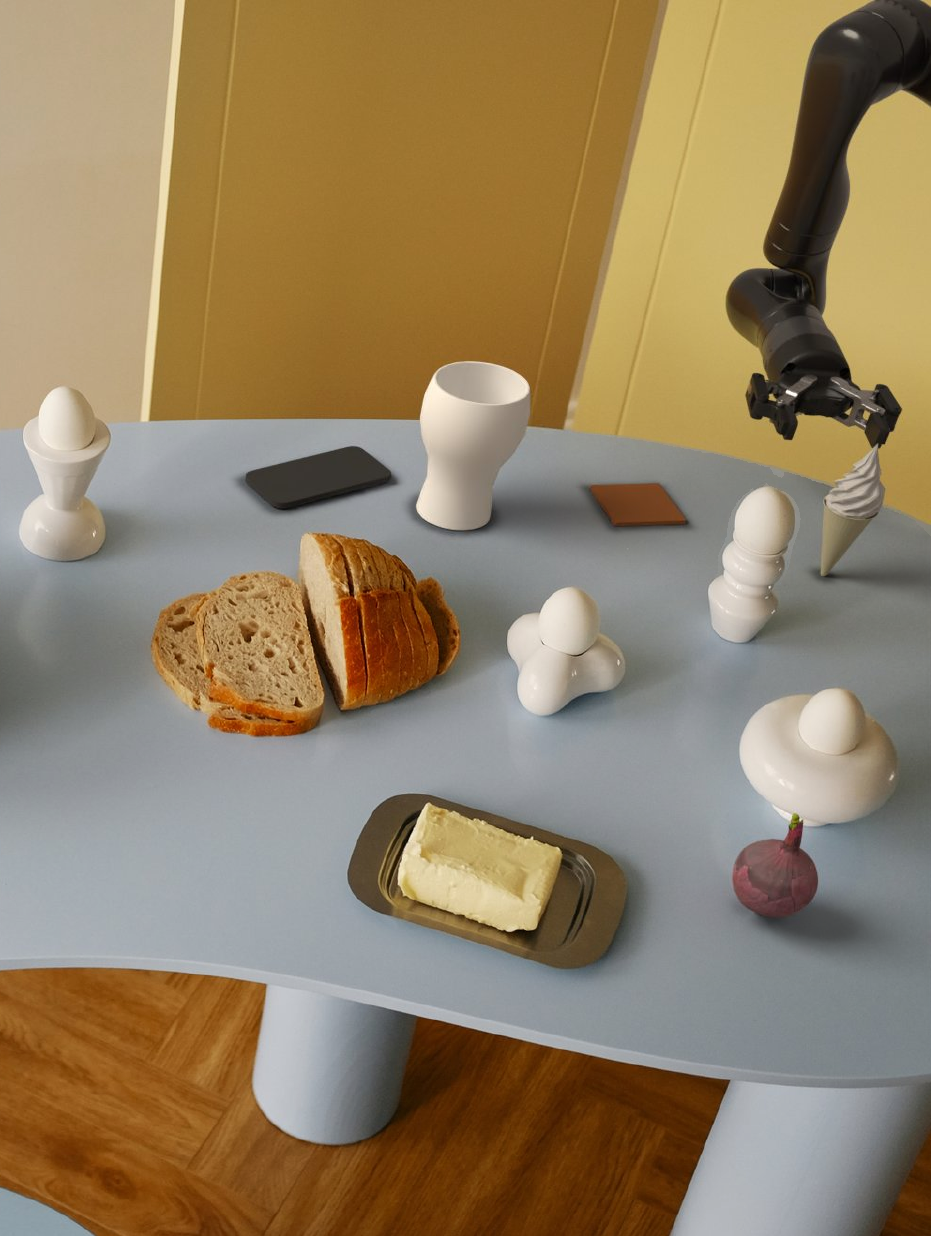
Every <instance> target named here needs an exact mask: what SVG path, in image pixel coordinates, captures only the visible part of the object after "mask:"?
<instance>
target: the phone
mask: <svg viewBox="0 0 931 1236" xmlns="http://www.w3.org/2000/svg"><path fill="white" fill-rule="evenodd" d="M391 476H392V471H391V470H390V469H389V468H388V467H386V465H384V464H383V463H382V462H380V460H378V459H377V458H375V457H374V456H373V455H371V454H370V453H369V452H367V451H366V450H365V449H364V448H363V447H360V446H356V445H349V446H344V447H340V448H337V449H333V450H329V451H325V452H321V453H317V454H313V455H308V456H304V457H300V458H297V459H293V460H288V461H284V462H280V463H276V464H273V465H267V466H265V467H261V468H257V469H252V470H250V471H247V472H246V473H245V483H246V484H247V485H248V486H249V487H250V488H251V489H253V490H254V491H255V492H256V493H257V494H258V495H259V496H261V497H262V498H263V500H265V501H266V502H267V503H268V504H269V505H271V506H272V507H274V508H276V509H289V508H292V507H296V506H300V505H304V504H307V503H311V502H315V501H320V500H324V499H326V498H330V497H335V496H338V495H339V496H340V495H342V494H346V493H350V492H354V491H358V490H361V489H365V488H369V487H373V486H377V485H381V484H384V483H388V482H389V481H390V480H391V478H392V477H391Z"/></svg>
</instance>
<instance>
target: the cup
mask: <svg viewBox="0 0 931 1236" xmlns="http://www.w3.org/2000/svg"><path fill="white" fill-rule="evenodd" d="M530 416H531V387H530V384H529V382H528V380H527V379H525V377H524V376H522V375H521V374H519V372H516V371H515V370H513V369H511V368H508V367H506V366H503V365H499V364H495V363H491V362H484V361H475V360H474V361H471V360H467V361H456V362H452V363H449V364H445V365H443V366H441V367H440V368H438V369H437V370H436V371H435V372H434V373H433V375H432V377H431V380H430V382H429V384H428V386H427V388H426V390H425V393H424V396H423V399H422V404H421V409H420V415H419V423H420V424H419V425H420V434H421V438H422V439H421V440H422V441H423V445H424V448H425V451H426V454H427V472H426V473H427V474H426V477H425V480H424V482H423V485H422V488H421V490H420V493H419V495H418V499H417V501H416V505H415V508H416V512H417V514H419V516H420V517H421V518H422V519H423V520H425V521H426V522H428V523H430V524H432V525H434V526H436V527H439V528H443V529H447V530H452V531H470V530H476V529H479V528H482V527H483V526H485V525H487V524H488V523H489V522H490V520H491V516H492V508H493V507H492V506H493V488H494V485H495V482H496V479H497V477H498V474H499V472H500V470H501V468H502V467H504V465H505V464H506V463H507V461H508V460H509V459H510V458H511V457H512V456H513V455H514V453H515V452H516V450H517V449H518V448H519V445H520V444H521V442H522V441H523V439H524V438H525V435H526V433H527V429H528V424H529V420H530Z"/></svg>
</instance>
